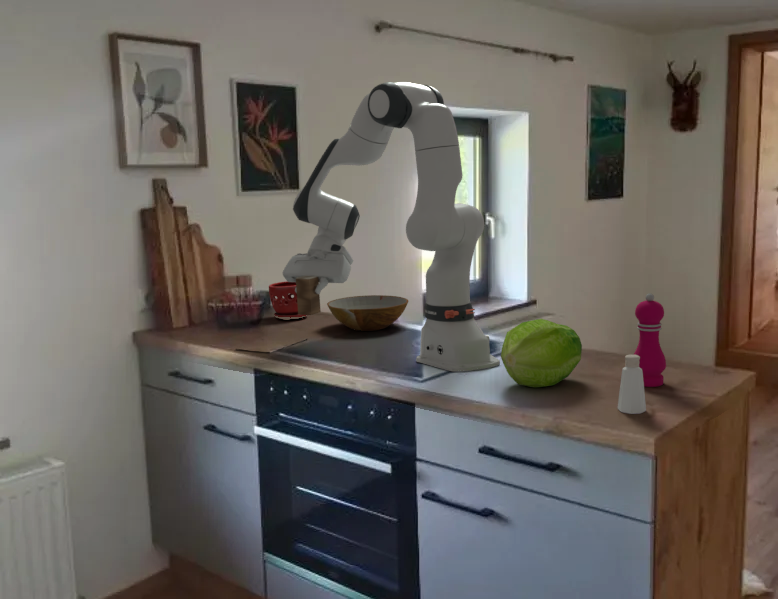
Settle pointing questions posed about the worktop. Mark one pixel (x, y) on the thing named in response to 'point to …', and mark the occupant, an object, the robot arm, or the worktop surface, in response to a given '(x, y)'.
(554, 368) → the lettuce
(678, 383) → the worktop surface
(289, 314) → the plant pot
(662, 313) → the pepper mill
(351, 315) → the bowl
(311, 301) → the block
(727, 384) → the worktop surface
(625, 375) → the pepper shaker
